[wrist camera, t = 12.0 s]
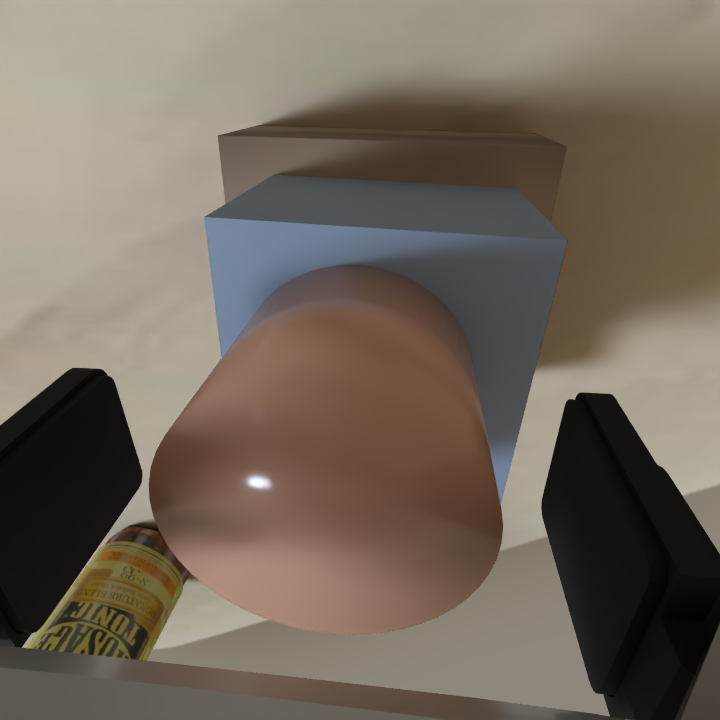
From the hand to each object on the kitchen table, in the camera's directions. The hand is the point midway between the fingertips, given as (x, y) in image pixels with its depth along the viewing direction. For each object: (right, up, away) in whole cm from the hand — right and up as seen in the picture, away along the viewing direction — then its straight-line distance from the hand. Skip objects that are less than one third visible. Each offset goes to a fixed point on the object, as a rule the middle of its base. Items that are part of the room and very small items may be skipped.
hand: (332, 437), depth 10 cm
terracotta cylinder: (0, +1, +2) cm, 3 cm away
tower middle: (+2, +4, +8) cm, 9 cm away
